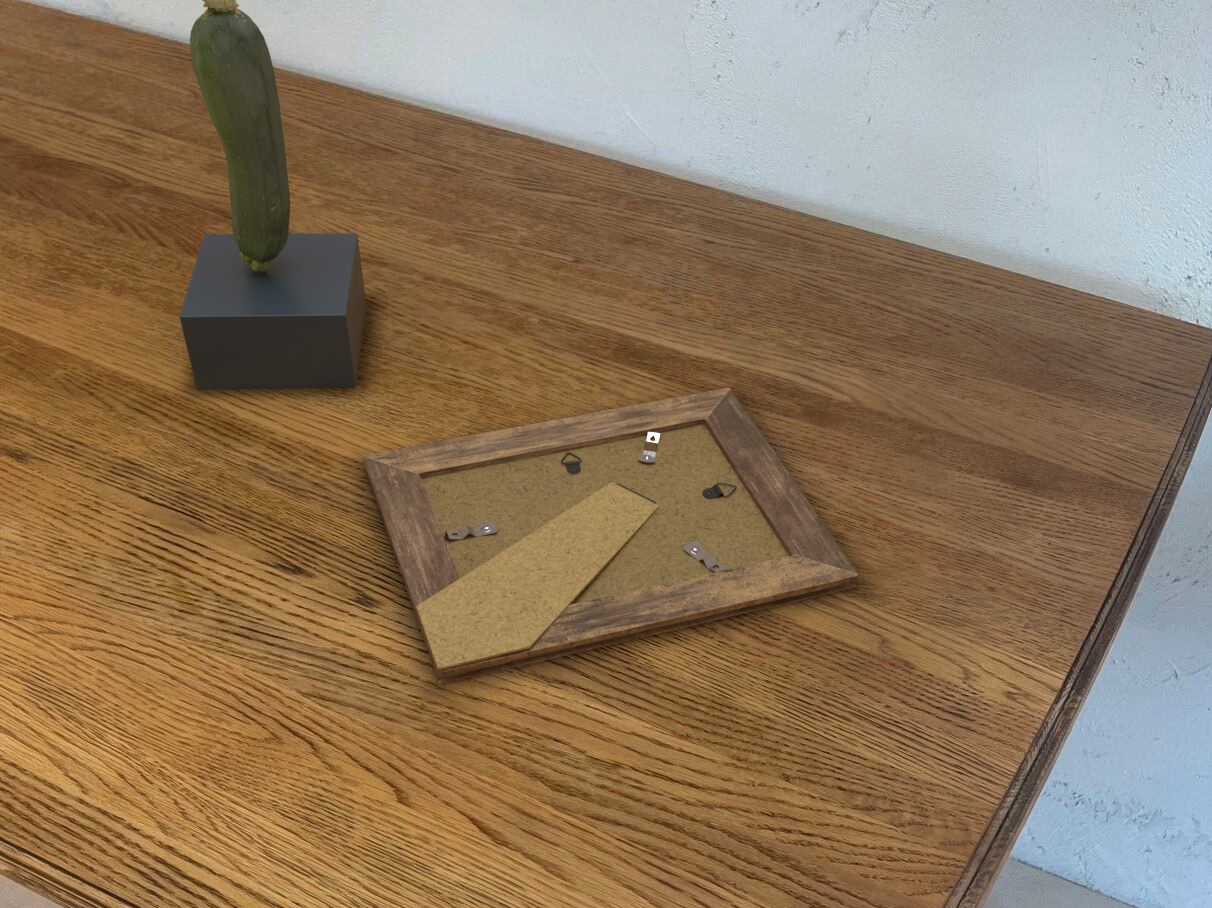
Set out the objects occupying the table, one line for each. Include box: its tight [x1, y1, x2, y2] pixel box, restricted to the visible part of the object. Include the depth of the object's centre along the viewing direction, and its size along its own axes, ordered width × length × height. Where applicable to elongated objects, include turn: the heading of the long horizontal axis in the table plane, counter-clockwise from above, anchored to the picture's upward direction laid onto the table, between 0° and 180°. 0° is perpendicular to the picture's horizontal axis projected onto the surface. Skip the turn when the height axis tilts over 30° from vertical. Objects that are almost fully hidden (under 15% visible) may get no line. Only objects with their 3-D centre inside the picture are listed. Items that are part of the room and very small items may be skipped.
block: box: [179, 232, 367, 391], centre depth 88 cm, size 10×10×6 cm
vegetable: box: [189, 0, 291, 272], centre depth 79 cm, size 4×4×20 cm
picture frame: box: [362, 387, 859, 685], centre depth 78 cm, size 19×2×24 cm
